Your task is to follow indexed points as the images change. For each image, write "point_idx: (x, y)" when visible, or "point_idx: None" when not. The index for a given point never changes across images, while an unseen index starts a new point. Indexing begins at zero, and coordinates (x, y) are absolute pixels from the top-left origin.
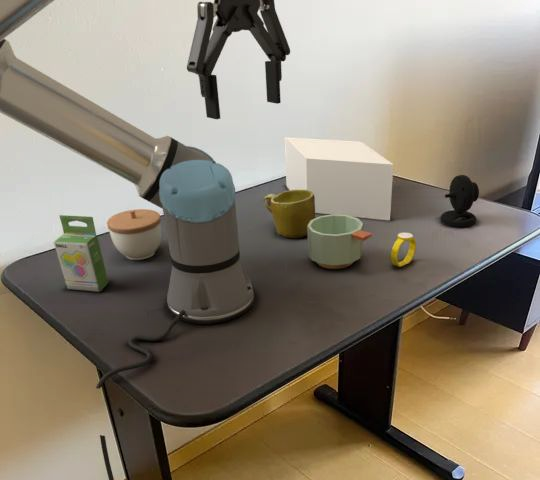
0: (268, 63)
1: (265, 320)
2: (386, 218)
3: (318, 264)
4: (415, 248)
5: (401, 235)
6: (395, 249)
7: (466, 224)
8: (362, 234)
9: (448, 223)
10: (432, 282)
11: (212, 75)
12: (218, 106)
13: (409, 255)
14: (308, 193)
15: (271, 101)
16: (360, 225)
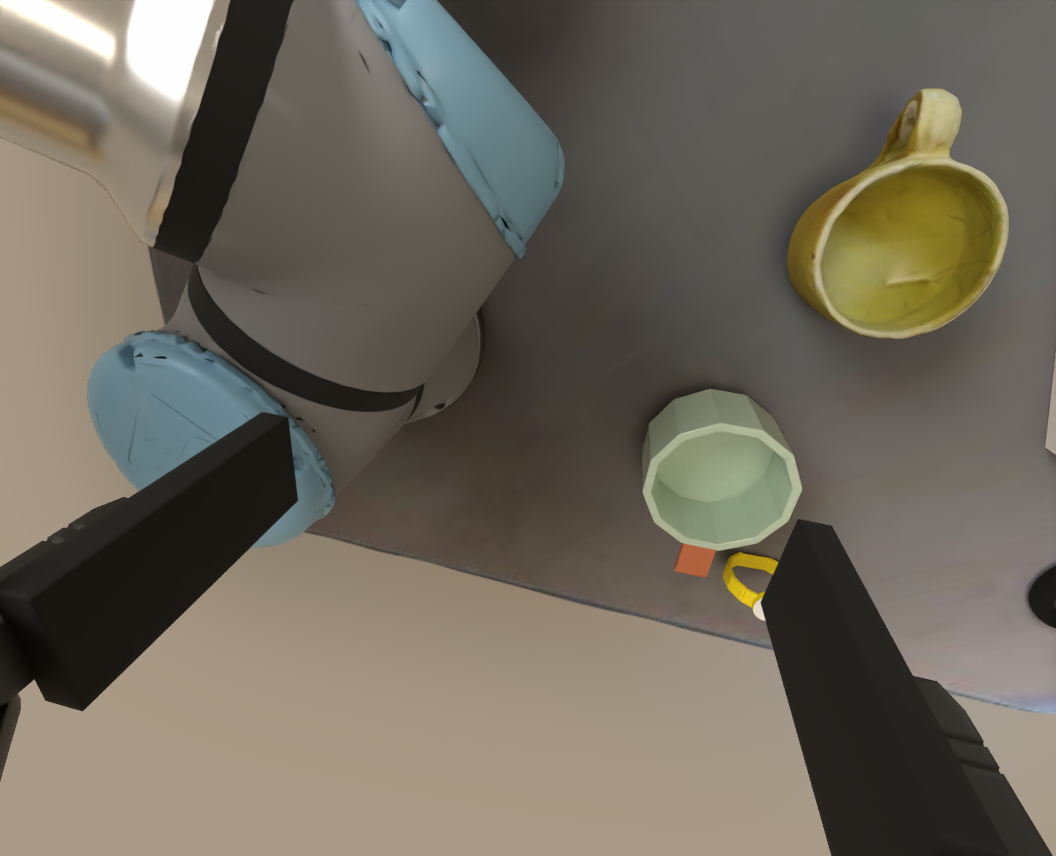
0: (903, 850)
1: (422, 452)
2: (1049, 440)
3: None
4: None
5: None
6: (730, 585)
7: (1039, 618)
8: (690, 564)
9: (1037, 585)
10: (702, 618)
11: (52, 691)
12: (249, 540)
13: None
14: (971, 286)
15: (784, 561)
16: (741, 542)
